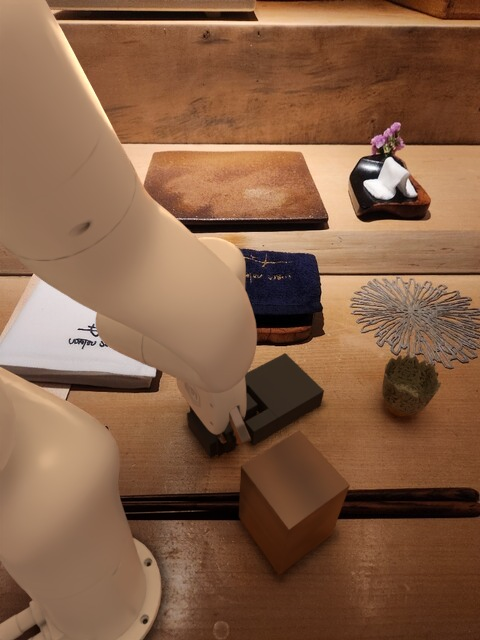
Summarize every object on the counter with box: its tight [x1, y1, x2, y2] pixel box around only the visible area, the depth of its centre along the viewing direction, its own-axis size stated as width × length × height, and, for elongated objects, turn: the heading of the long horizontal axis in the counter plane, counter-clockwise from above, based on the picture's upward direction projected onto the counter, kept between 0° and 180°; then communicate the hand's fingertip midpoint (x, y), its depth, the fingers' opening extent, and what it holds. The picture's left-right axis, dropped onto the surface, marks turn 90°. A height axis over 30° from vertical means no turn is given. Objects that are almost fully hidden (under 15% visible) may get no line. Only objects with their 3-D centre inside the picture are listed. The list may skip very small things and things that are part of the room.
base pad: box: [245, 352, 325, 447], centre depth 68 cm, size 13×9×4 cm
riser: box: [238, 429, 351, 576], centre depth 51 cm, size 8×8×12 cm
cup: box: [381, 354, 442, 418], centre depth 66 cm, size 8×7×8 cm
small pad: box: [186, 393, 258, 460], centre depth 64 cm, size 9×6×4 cm, turn 125°
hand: (213, 431), depth 64 cm, fingers closed on small pad, 6 cm apart
